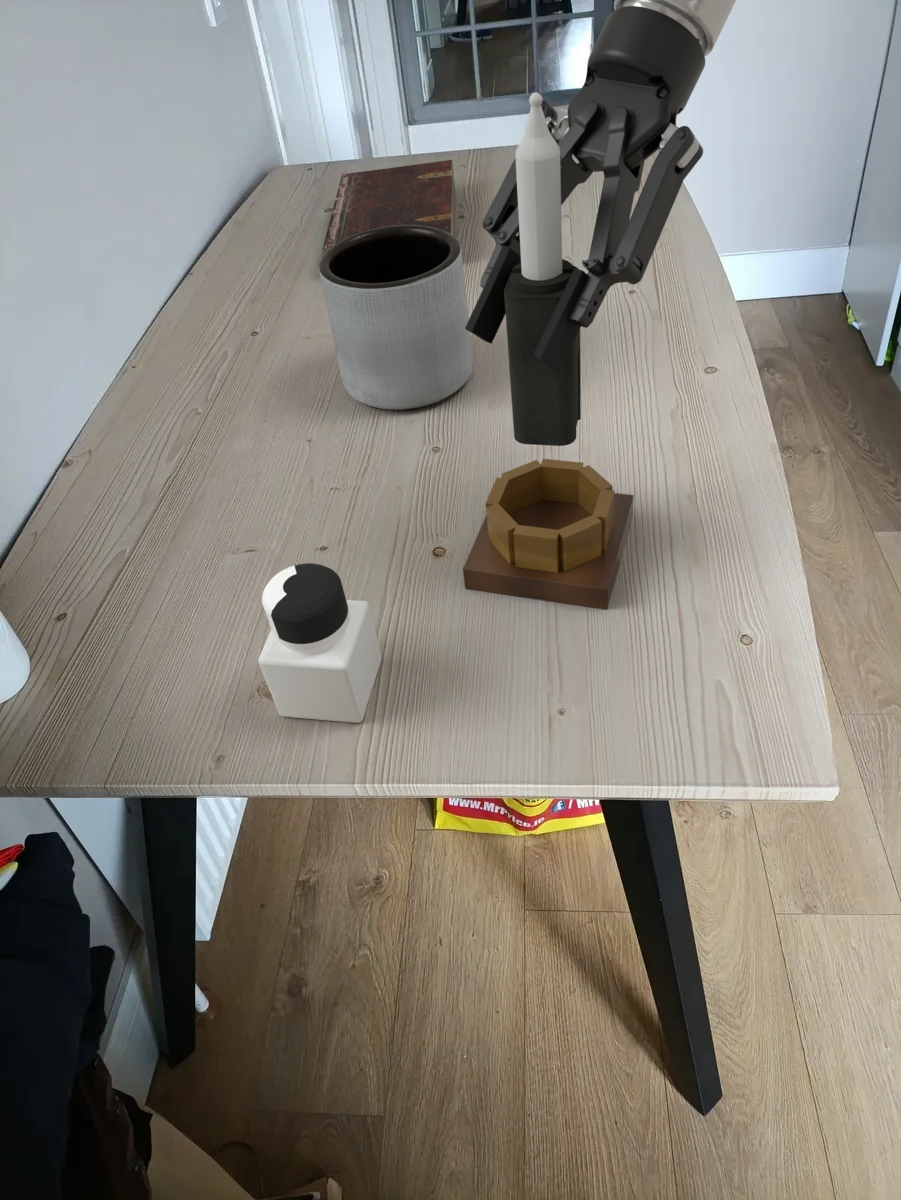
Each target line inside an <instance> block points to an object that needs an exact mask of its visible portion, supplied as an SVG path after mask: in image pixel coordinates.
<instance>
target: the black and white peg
mask: <svg viewBox="0 0 901 1200" xmlns="http://www.w3.org/2000/svg"><path fill="white" fill-rule="evenodd" d="M542 100H543V96H542V95H541V93H539V92H538V91H537V92H533V93H531V95H530V96H529V98H528V103H529V106H530V108H529V112H528V119H527V121H526V127H525V131H524V135H523V136H522V139H521V140H520V142H519V144H518V145H517V148H516V150H515V156H514V157H515V158H516V176H517V194H518V213H519V232H520V250H521V263H519V264H517V265H516V266H514V267H513V268H512V272H511V273H510V277H509V280H508V282H507V285H506V287H505V290H504V297H505V312H506V314H505V323H506V324H505V325H506V337H507V353H508V355H507V356H508V365H509V366H508V368H509V382H510V383H509V384H510V395H511V397H510V398H511V410H512V411H511V412H512V425H513V426H512V427H513V437H514V440H515V441H516V442H517V443H519V444H522V445H529V446H530V445H533V446H553V447H564V446H569V445H572V444H573V443H574V442H575V441H576V439H577V427H578V423H579V421H580V420H581V419H582V418H581V417H582V416H581V415H582V412H581V411H582V404H581V403H582V401H581V399H582V398H581V395H582V393H581V391H582V390H581V386H582V385H581V329H580V330H579V332H578V334H577V336H576V338H575V340H574V342H573V344H572V346H571V348H570V350H569V352H568V355H567V357H566V359H565V361H564V363H563V365H562V367H561V369H560V371H557V370H555V369H552V368H550V367H549V366H547V365H546V364H544V363H543V362H541V361H540V360H538V359H537V358H535V357H534V356H533V355H534V353H535V351H536V348H537V346H538V344H539V342H540V340H541V338H542V336H543V334H544V332H545V330H546V327H547V325H548V323H549V321H550V319H551V317H552V315H553V313H554V311H555V309H556V306H557V304H558V302H559V300H560V298H561V296H562V294H563V292H564V290H565V288H566V285H567V283H568V281H569V279H570V277H571V275H572V273H573V271H574V269H575V268H576V269H579V270H580V268H579V267H577V266H575V265H573V263H572V262H570V261H569V260H567V259H564V258H563V236H562V235H563V233H562V231H563V229H562V205H561V177H560V148H559V146H558V144H557V143H556V141H555V140H554V138H553V137H552V135H551V134H550V132H549V129H548V126H547V123H546V120H545V116H544V113H543V110H542V107H541V103H542Z"/></svg>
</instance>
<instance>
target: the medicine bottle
mask: <svg viewBox="0 0 901 1200" xmlns="http://www.w3.org/2000/svg"><path fill="white" fill-rule="evenodd" d="M261 604H262V607H263V609H264V613H265V615H266V618H267V621H268V623H269V626H270V628H271V630H270V631H269V634H268V636H267V638H266V641H265V643H264V645H263V648H262V650H261V652H260V655H259V657H258V660H257V661H258V662H257V663H258V664H259V667H260V670H261V672H262V675H263V677H264V680H265V682H266V685H267V687H268V690H269V692H270V695H271V697H272V700H273V702H274V705H275V707H276V711H277V712H278V715H279V716H280V717H283V718H296V719H305V720H306V719H308V720H317V721H329V722H339V723H340V722H342V723H352V724H353V723H354V724H355V723H356V724H360V723H362V722H363V720H364V717H365V714H366V711H367V708H368V704H369V701H370V698H371V695H372V691H373V688H374V685H375V681H376V678H377V675H378V672H379V669H380V665H381V662H382V653H381V649H380V646H379V645H380V644H379V641H378V637H377V633H376V629H375V625H374V620H373V616H372V612H371V609H370V608H371V607H370V605H369V603H368V601H366V600H352V599H347V598H346V594H345V590H344V586H343V583H342V580H341V577H340V576H339V574H338V573H337V572H336V571H335V570H334V569H332V568H331V567H328V566H326V565H323V564H319V563H313V562H312V563H310V562H308V563H299V564H294V565H292V566H289V567H286V568H284V569H282V570H280V571H279V572H278V573H276V574H275V575H274V576H273V577H272V578H271V579H270V580H269V581H268V582H267V584H266V585H265V587H264V589H263V591H262V595H261Z"/></svg>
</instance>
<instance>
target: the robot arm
mask: <svg viewBox="0 0 901 1200" xmlns="http://www.w3.org/2000/svg"><path fill="white" fill-rule="evenodd" d="M736 2H737V0H614V2H613V9H614V10H613V11H611V12H610V13H609V14H608V15H607V17H606V19H605V22H604V23H603V26H602V28H601V30H600V32H599V35H598V37H597V39H596V41H595V43H594V45H593V47H592V50H591V52H590V54H589V56H588V59H587V64H586V65H587V66H586V75H585V81H584V83H583V85H582V87H580V90H579V91H578V92H577V93H576V94H575V95H574V96H573V97H572V98H571V100H570V101H569V103H567V104H561V105H556V106H555V105H554V106H552V105H551V104H550V103H549V101H547V100H546V99H542V103H541V107H542V110H543V113H544V116H545V120H546V123H547V126H548V129H549V132H550V134H551V135H552V137H553V138H554V140H555V141H556V143H557V144H558V146H559V148H560V177H561V206H562V205H563V204H564V203H565V201H566V200H567V199H568V198H569V196H570V195H571V194H572V192H573V191H574V190H575V189H576V187H577V186H578V185H581V184H584V183H585V182H586V181H588V179H589V178H590V177H591V175H592V174H593V173H597V172H598V173H600V172H603V184H602V189H601V193H600V198H599V202H598V203H599V204H598V208H597V214H596V218H595V224H594V229H593V233H592V238H591V240H592V241H591V244H590V250H589V254H588V259H585V260H584V259H583V260H581V265H582V266H583V268H584V269H585V270H586V271H588V272H587V273H586V272H585V271H584V270H581V269H580V268H579V269H576V268H575V269H574V271H573V273H572V275H571V277H570V279H569V281H568V283H567V285H566V288H565V290H564V292H563V294H562V296H561V298H560V300H559V302H558V304H557V306H556V309H555V311H554V313H553V315H552V317H551V319H550V321H549V323H548V325H547V327H546V330H545V332H544V334H543V336H542V338H541V340H540V342H539V344H538V346H537V348H536V351H535V353H534V355H533V356H534V357H535V358H537V359H538V360H540V361H541V362H543V363H544V364H546V365H547V366H549V367H550V368H552V369H555V370H557V371H560V369H561V367H562V365H563V363H564V361H565V359H566V357H567V355H568V352H569V350H570V348H571V346H572V344H573V342H574V340H575V338H576V336H577V334H578V332H579V330H580V331H581V328H584V329H588V328H589V327H590V326H591V325H592V324H593V322H594V320H595V319H596V315H597V313H598V312H599V309H600V308H601V306H602V303H603V301H604V300H605V297H606V295H607V293H608V291H609V290H610V288H611V287H612V286H614V285H616V284H620V283H628V284H630V285H636V284H639V283H640V282H641V281H642V280H643V278H644V275H645V272H646V270H647V268H648V265H649V264H650V261H651V258H652V256H653V254H654V251H655V249H656V247H657V244H658V242H659V240H660V237H661V235H662V232H663V230H664V228H665V225H666V223H667V220H668V218H669V215H670V213H671V211H672V208H673V206H674V204H675V201H676V199H677V196H678V195H679V193H680V190H681V188H682V185H683V183H684V180H686V178H687V176H688V175H689V174H690V172H691V171H692V170H693V169H694V168H695V166H696V165H697V163H698V162H699V161H700V159H701V158H702V157H703V154H704V148H703V146H702V145H701V143H700V142H699V140H698V139H697V137H696V135H695V134H694V133H693V131H692V129H691V128H690V127H689V126H688V125H681V126H680V127H678V126H677V118H678V115H680V114H681V113H682V112H683V111H684V110H685V108H686V107H687V104H688V103H689V100H690V98H691V95H692V93H693V92H694V89H695V88H696V85H697V84H698V82H699V79H700V77H701V75H702V73H703V71H704V69H705V66H706V56H709V54H711V52H712V51H713V49H714V48H715V45H716V43H717V42H718V39H719V37H720V34H721V33H722V30H723V29H724V26H725V24H726V23H727V20H728V18H729V16H730V14H731V12H732V10H733V8H734V6H735V5H736ZM567 129H568V130H567ZM566 131H567V132H566ZM656 152H658V154H657V155H656V158H655V159H654V161H653V163H652V165H651V167H650V169H649V173H648V175H647V177H646V180H645V182H644V184H643V186H642V189H641V192H640V194H639V197H638V199H637V201H636V204H635V206H634V209H633V203H634V198H635V193H637V192H639V189H640V186H641V182H642V176H643V171H644V166H645V161H646V160H648V159H649V158H650V157H651V156H653V154H655V153H656ZM573 157H574V158H575V159H576V160H577V161H578V163H577V162H576V161H575V160H574V159H573ZM632 209H633V211H632ZM481 224H482V225H481V226H482V228H483V230H485V231H486V232H487V233H488V234H489V235H490V236H491V237H492V239H493V240H494V241H495V246H494V249H493V251H492V254H491V256H490V258H489V261H488V263H487V264H486V267H485V268H484V272H483V274H482V276H481V279H480V282H479V287H480V288H482V291H481V293H480V294H479V297H478V299H477V301H476V303H475V306H474V308H473V310H472V312H471V314H470V316H469V321H468V323H467V325H466V327H465V329H466V330H468V331H469V332H471V334H472V335H474V336H476V337H477V338H479V339H480V340H482V341H483V342H486V343H488V344H491V345H492V344H493V342H494V340H495V337H496V335H497V333H498V331H499V329H500V327H501V324H502V323H503V320H504V318H505V317H506V312H505V297H504V290H505V287H506V285H507V282H508V280H509V277H510V273H511V272H512V268H513V267H514V266H516V265H517V264H519V263H521V250H520V232H519V213H518V194H517V176H516V157H515V158H514V160H513V162H512V163H511V166H510V167H509V169H508V171H507V173H506V175H505V177H504V179H503V181H502V183H501V185H500V186H499V188H498V191H497V193H496V194H495V196H494V199H493V200H492V202H491V205H490V206H489V208H488V210H487V212H486V214H485V216H484V218H483V220H482V223H481Z"/></svg>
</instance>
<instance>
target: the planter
mask: <svg viewBox="0 0 901 1200" xmlns="http://www.w3.org/2000/svg"><path fill="white" fill-rule="evenodd" d="M318 273H319V278H320V283H321V286H322V291H323V296H324V300H325V306H326V311H327V314H328V319H329V324H330V325H329V326H330V330H331V335H332V339H333V345H334V350H335V354H336V360H337V364H338V369H339V374H340V379H341V382H342V385H343V387H344V389H345V391H346V392H347V394H348V395H349V396H350V397H351V398H353V399H354V400H356V401H358V402H360V403H362V404H364V405H367V406H370V407H372V408H378V409H381V410H388V411H407V410H413V409H414V410H415V409H421V408H424V407H428V406H430V405H433V404H436V403H439V402H441V401H443V400H445V399H446V398H448V397H450V396H451V395H453V394H455V393H456V392H458V391H459V390H460V389H461V388H462V387H463V386H464V385H465V384H466V383H467V382H468V380H470V377H471V375H472V373H473V370H474V350H473V342H472V333H471V332H469V331H468V330H466V329H465V327H466V325H467V323H468V321H469V319H470V316H469V309H468V299H467V289H466V282H465V281H466V280H465V273H464V263H463V253H462V245H461V243H460V241H459V239H458V238H457V237H456V235H454V236H453V235H452V234H450V233H448V232H446V231H444V230H441V229H438V228H434V227H429V226H422V225H395V226H387V227H381V228H376V229H371V230H368V231H364V232H361V233H358V234H355V235H352V236H350V237H348V238H346V239H344V240H342V241H340V242H338V243H337V244H335V245H334V246H332V247H331V248H330V249H328V250H327V251H326V252H325V253H324V255H323V256H322V255H321V258H320V259H319V262H318Z"/></svg>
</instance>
